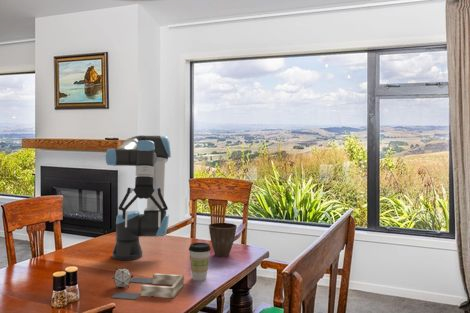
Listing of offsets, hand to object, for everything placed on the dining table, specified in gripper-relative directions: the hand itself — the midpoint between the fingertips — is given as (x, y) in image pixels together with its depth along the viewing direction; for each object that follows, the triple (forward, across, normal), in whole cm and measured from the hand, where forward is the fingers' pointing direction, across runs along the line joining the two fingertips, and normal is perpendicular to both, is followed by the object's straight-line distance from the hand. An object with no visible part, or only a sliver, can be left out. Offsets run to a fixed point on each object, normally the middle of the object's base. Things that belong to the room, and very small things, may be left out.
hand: (142, 227), depth 175 cm
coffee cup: (+23, +26, +10) cm, 36 cm away
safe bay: (+25, +8, -1) cm, 27 cm away
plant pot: (+15, +44, +44) cm, 64 cm away
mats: (+25, -2, +3) cm, 25 cm away
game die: (+25, -7, +5) cm, 26 cm away
